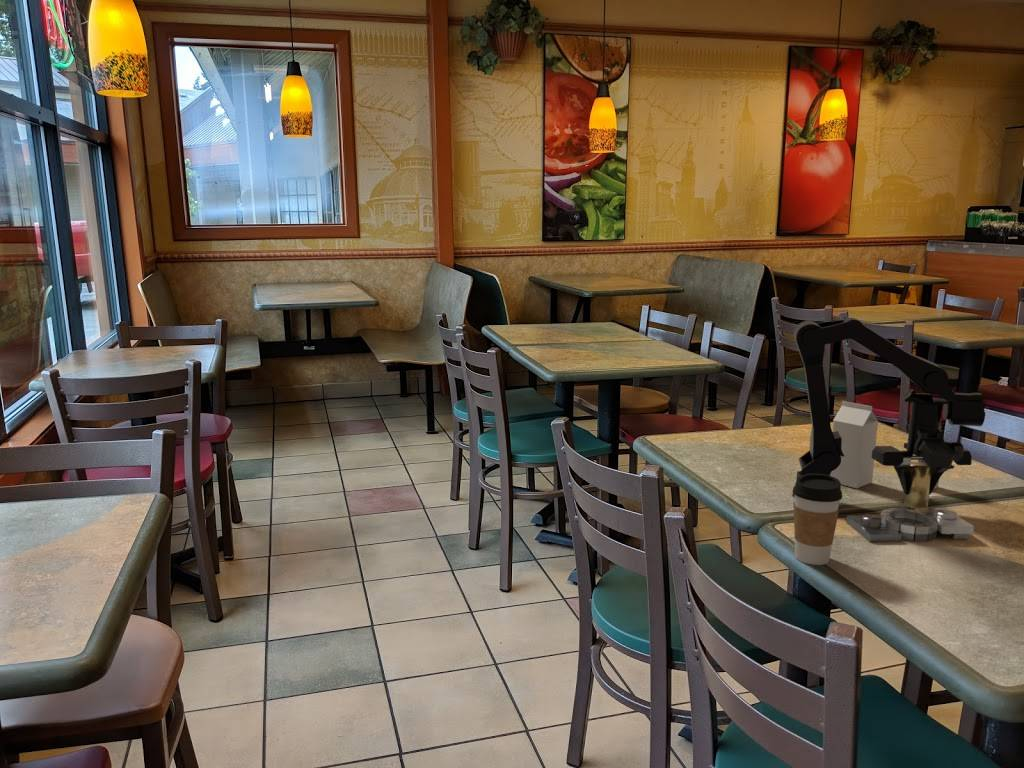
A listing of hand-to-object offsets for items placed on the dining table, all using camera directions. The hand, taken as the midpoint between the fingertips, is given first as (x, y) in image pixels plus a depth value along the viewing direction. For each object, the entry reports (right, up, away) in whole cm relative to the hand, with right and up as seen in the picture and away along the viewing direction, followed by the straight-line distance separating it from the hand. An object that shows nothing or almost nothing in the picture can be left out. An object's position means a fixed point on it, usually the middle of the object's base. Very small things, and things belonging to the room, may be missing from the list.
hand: (917, 494), depth 169 cm
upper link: (-5, -6, -11) cm, 14 cm away
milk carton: (-7, 0, +18) cm, 19 cm away
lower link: (-10, -6, -11) cm, 16 cm away
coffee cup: (-31, -9, -24) cm, 40 cm away
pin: (0, -2, 0) cm, 2 cm away
